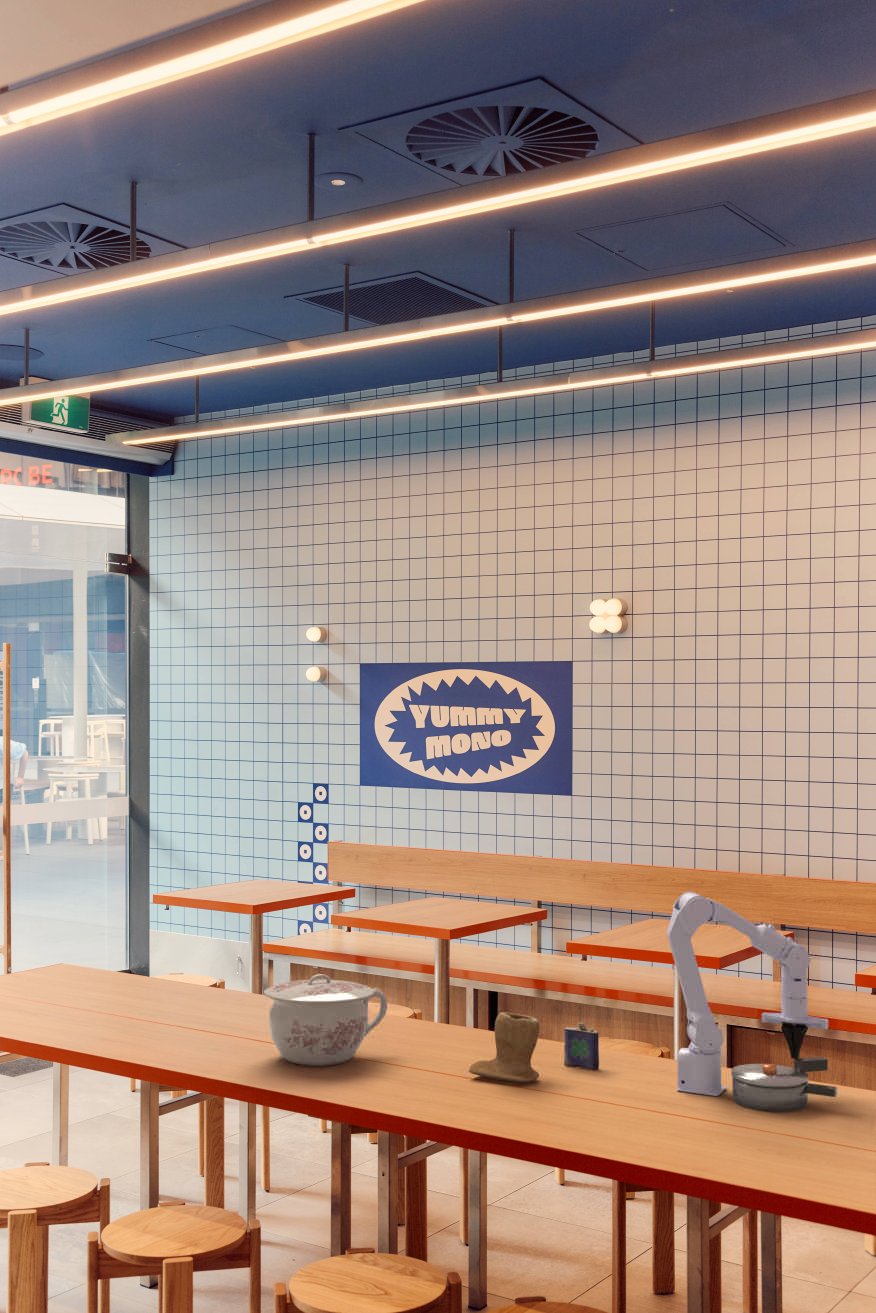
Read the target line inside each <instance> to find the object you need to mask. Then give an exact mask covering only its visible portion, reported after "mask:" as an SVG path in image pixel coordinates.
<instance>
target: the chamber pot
mask: <svg viewBox="0 0 876 1313" xmlns="http://www.w3.org/2000/svg"><path fill="white" fill-rule="evenodd" d="M263 994H264V996H266V997H267V998H268V999H269V998H270V999H271V1000H273V1002H272V1003H273V1004H272V1005H271V1007H270V1008H269V1010H268V1026H269V1029H270V1030H269V1031H270V1036H271V1040H272V1042H273V1043H274V1045H275V1047H276V1048H277V1050H278V1052H279V1054H280V1056H282V1058H283V1059H285V1060H287V1061H289V1062H290V1063H294V1064H296V1065H301V1066H304V1067H305V1066H306V1067H326V1066H327V1067H328V1066H334V1065H339V1064H341V1063H343V1062H346V1061H348V1060H350V1059H352V1058H353V1057H354V1056H355V1054H356V1053H357V1050H359V1048H360V1046H361V1044H362V1042H363V1041H364V1039H365V1038H366V1036H367V1035H369V1033H370V1032H371V1031H372V1030H373V1029H375V1028H376V1027H377V1026H378V1025H379V1024H380V1023H381V1021H382V1020H383V1019H384V1017H385V1016H386V1014H387V1010H388V1000H387V997H386V995H385V993H384V992H383V991H382V990H381V989H379V988H378V987H374V988H372V987H370V986H368V985H365V984H361V983H359V982H353V981H349V980H340V979H331V978H330V976H328V975H325V974H322V973H319V974H315V975H312V976H311V978H310V979H301V980H293V981H287V982H281V983H278V984H275V985H272V986H269V987H267V988H266V989H265V990H263ZM375 997H376V998H378V999H379V1011H378V1013H377V1014H376V1015H375V1017H374V1018H373V1019H372V1021H371V1022H369V1000H371V998H375Z"/></svg>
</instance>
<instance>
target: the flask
mask: <svg viewBox="0 0 876 1313" xmlns="http://www.w3.org/2000/svg"><path fill="white" fill-rule="evenodd" d="M585 1024H586V1022H585V1021H583V1022H580V1023H579V1022H578V1023H577V1025H578V1027H564V1030H563V1032H564V1033H563V1034H564V1040H563V1041H564V1042H563V1043H564V1046H563V1047H564V1048H563V1049H564V1050H563V1051H564V1055H563V1059H564V1060H563V1064H564V1066H566V1067H569V1066H570V1067H572V1068H576V1067H581V1068H580V1069H583V1068H587V1069H586V1070H588V1069H589V1070H590V1069H592V1070H591V1071H595V1070H597V1069H599V1070H600V1056H599V1055H600V1054H599V1053H600V1052H599V1051H600V1050H599V1045H600V1044H599V1041H600V1040H599V1032H598V1031H597V1030H595V1029H593V1028H591V1029H589V1028H588V1027H587V1026H586V1025H585ZM597 1071H598V1070H597Z"/></svg>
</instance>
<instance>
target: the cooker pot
mask: <svg viewBox="0 0 876 1313" xmlns="http://www.w3.org/2000/svg"><path fill="white" fill-rule="evenodd" d="M731 1078H732V1081H731V1082H732V1101H733V1103H734V1104H736V1105H738V1106H740V1107H743V1108H746V1109H750V1110H755V1111H761V1112H767V1113H796V1112H800V1111H804V1110H806V1109H807V1108H808V1106H809V1095H817V1096H824V1097H831V1098H832V1097H833V1098H835V1097H836V1096H837V1095H838V1090H837V1089H838V1087H837V1086H832V1085H826V1084H818V1083H817V1084H816V1083H811V1082H810V1083H809V1082H808V1083H807V1084H805V1085H802V1086H797V1087H786V1088H779V1087H764V1086H757V1085H751V1084H747V1083H743V1082H740V1081H738V1080H736V1079H734V1078H733V1077H732V1076H731Z"/></svg>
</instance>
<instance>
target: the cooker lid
mask: <svg viewBox="0 0 876 1313" xmlns="http://www.w3.org/2000/svg"><path fill="white" fill-rule="evenodd" d="M828 1066H829V1065H828V1059H827V1058H824V1057H822V1056H816V1057H799V1058H797V1059H793V1067H791V1066H785V1065H779V1064H772V1063H747V1064H746V1063H745V1064H740V1065H736V1066H734V1067H732V1068H731V1070H730V1072H731V1078H732V1077H733V1078H734V1079H736V1080H738V1081H740V1082H743V1083H747V1084H751V1085H757V1086H764V1087H779V1088H786V1087H797V1086H802V1085H805V1084H807V1083H809V1081H810V1080H809V1074H808V1073H809V1072H823V1071H829V1070H828V1069H829V1068H828ZM807 1072H808V1073H807Z"/></svg>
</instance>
